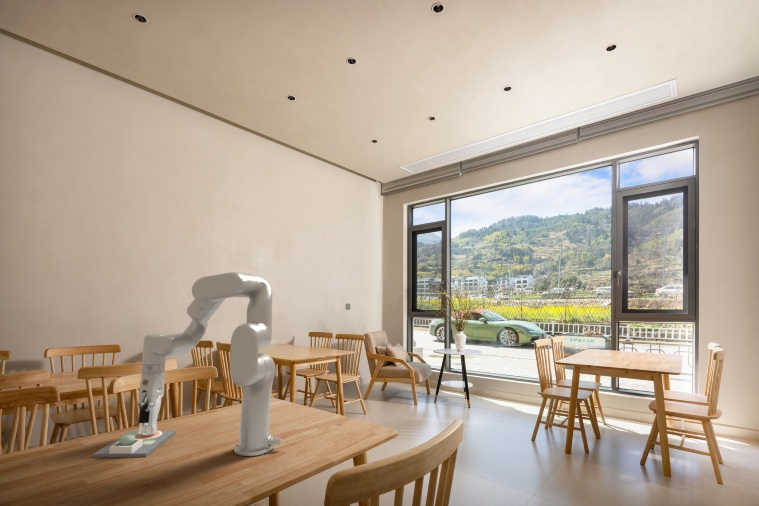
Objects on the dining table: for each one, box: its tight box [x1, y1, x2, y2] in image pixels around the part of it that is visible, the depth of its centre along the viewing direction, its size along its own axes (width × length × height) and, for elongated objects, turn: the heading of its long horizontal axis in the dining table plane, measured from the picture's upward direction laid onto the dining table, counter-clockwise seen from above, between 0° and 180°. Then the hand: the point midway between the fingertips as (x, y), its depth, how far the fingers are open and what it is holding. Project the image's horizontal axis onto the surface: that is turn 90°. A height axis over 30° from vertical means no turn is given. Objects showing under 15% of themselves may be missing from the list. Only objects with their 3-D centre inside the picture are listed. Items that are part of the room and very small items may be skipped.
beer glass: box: [137, 389, 162, 436], centre depth 141 cm, size 7×7×15 cm
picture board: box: [92, 429, 177, 458], centre depth 134 cm, size 16×22×3 cm
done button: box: [118, 434, 135, 446], centre depth 127 cm, size 4×4×2 cm
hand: (148, 419), depth 141 cm, fingers closed on beer glass, 6 cm apart
